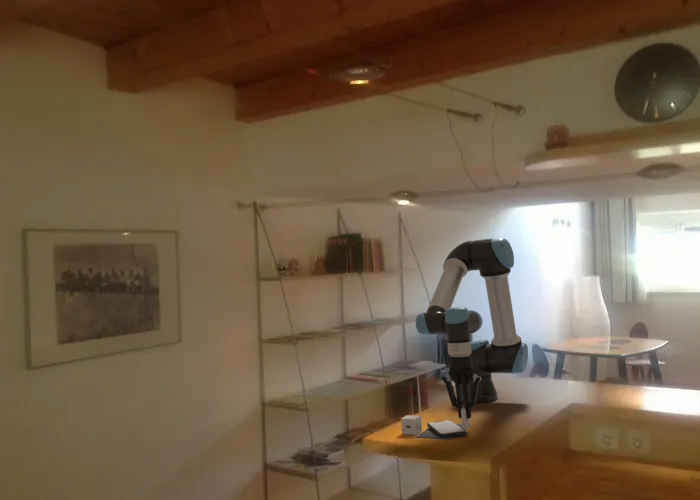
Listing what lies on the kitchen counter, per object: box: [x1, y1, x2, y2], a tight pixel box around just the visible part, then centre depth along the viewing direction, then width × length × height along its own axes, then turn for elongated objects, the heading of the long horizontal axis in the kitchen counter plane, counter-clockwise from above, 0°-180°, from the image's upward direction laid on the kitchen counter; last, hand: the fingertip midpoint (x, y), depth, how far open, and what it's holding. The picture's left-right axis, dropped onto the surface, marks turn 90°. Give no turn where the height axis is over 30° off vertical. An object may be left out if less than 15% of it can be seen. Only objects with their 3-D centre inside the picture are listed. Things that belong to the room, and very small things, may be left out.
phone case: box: [427, 419, 467, 438], centre depth 207 cm, size 9×2×16 cm
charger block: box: [400, 414, 423, 436], centre depth 210 cm, size 5×5×5 cm
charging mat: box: [415, 423, 471, 440], centre depth 209 cm, size 19×12×1 cm, turn 152°
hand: (465, 428), depth 205 cm, fingers closed
